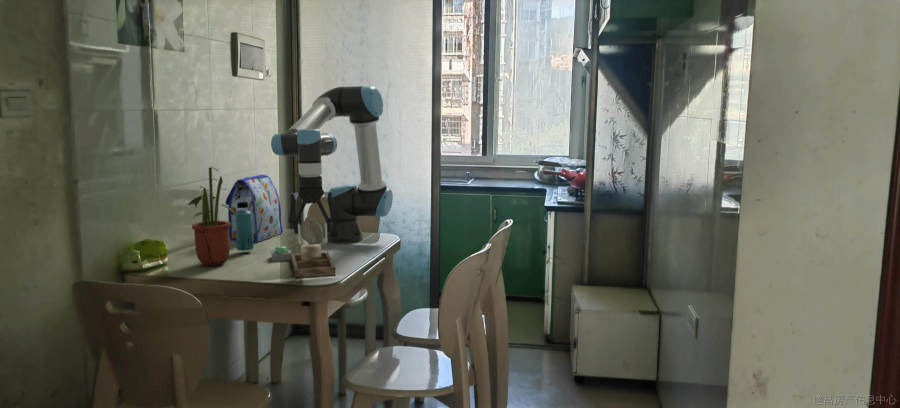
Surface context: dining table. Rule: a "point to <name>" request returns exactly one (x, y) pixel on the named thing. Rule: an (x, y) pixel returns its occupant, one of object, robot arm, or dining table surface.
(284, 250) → the button
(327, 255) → the brown wooden tray
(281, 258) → the button box
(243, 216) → the beverage bottle
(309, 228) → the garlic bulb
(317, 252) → the block
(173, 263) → the dining table surface
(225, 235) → the potted plant
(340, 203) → the robot arm
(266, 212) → the lunch bag
